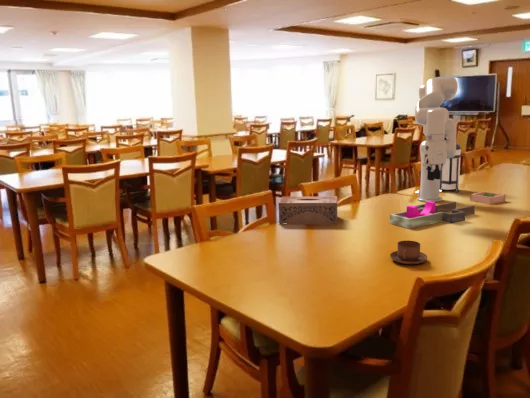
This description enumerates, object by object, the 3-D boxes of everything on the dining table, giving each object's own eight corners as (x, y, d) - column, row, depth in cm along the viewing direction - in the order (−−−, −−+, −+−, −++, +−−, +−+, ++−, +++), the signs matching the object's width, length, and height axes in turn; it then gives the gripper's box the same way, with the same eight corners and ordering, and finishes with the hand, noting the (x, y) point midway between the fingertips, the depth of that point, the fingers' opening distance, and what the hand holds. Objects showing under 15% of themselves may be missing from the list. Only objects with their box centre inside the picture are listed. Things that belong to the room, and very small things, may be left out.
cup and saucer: (429, 267, 154) (430, 249, 153) (391, 266, 157) (391, 248, 155) (424, 255, 166) (425, 238, 164) (389, 254, 168) (389, 238, 167)
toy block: (417, 225, 204) (418, 208, 203) (406, 222, 210) (406, 206, 208) (439, 219, 212) (440, 203, 211) (428, 217, 218) (428, 201, 216)
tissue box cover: (279, 224, 215) (278, 202, 213) (283, 216, 228) (282, 196, 226) (336, 225, 210) (336, 202, 208) (337, 217, 224) (337, 196, 222)
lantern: (426, 190, 278) (428, 138, 272) (447, 187, 285) (449, 136, 279) (449, 194, 263) (452, 140, 257) (470, 191, 269) (473, 138, 263)
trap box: (381, 221, 213) (381, 212, 212) (445, 207, 233) (445, 199, 232) (418, 231, 195) (419, 221, 194) (484, 216, 215) (484, 207, 214)
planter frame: (470, 200, 247) (470, 194, 246) (484, 197, 252) (485, 191, 252) (490, 204, 237) (490, 197, 236) (505, 201, 243) (505, 194, 242)
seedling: (487, 211, 242) (485, 203, 246) (499, 204, 237) (497, 196, 241) (479, 204, 240) (477, 197, 244) (491, 198, 235) (489, 190, 239)
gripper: (428, 140, 199) (427, 183, 204) (455, 136, 207) (453, 178, 211) (415, 139, 206) (413, 180, 210) (441, 135, 214) (439, 176, 218)
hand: (433, 179), depth 211 cm, fingers open, 3 cm apart
